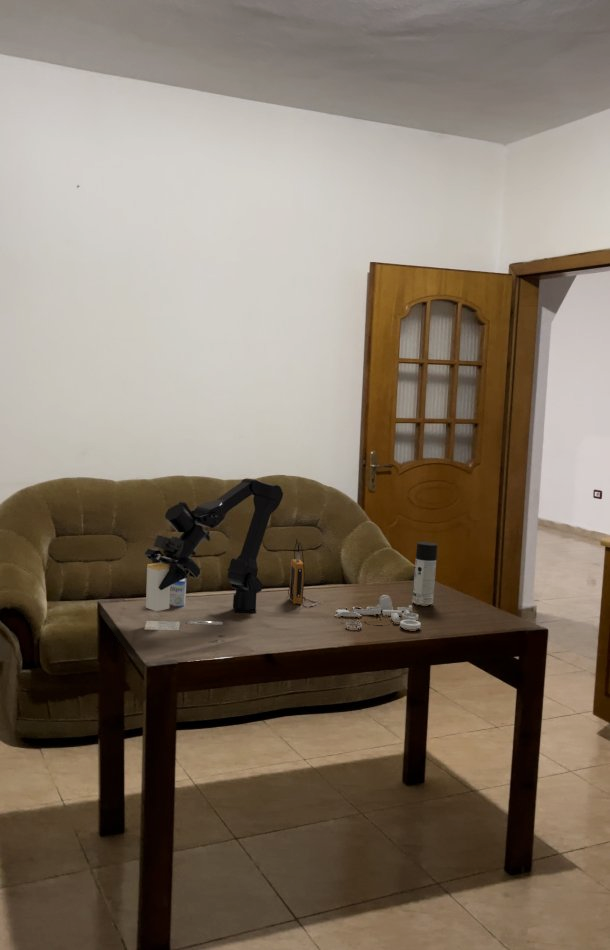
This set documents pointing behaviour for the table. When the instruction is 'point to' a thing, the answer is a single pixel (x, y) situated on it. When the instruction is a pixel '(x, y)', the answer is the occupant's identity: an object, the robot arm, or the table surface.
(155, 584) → the block
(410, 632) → the table surface
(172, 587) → the medicine box
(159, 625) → the case base
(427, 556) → the spray can
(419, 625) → the robot parts
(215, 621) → the rod
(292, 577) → the multimeter
